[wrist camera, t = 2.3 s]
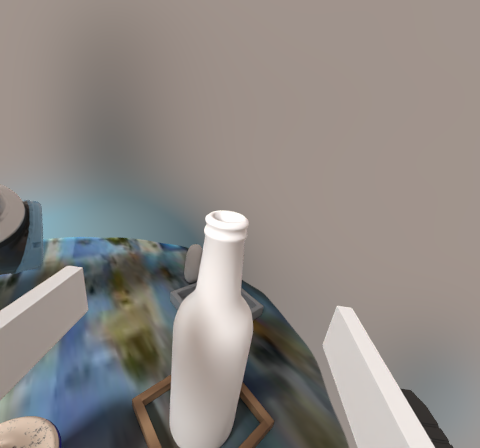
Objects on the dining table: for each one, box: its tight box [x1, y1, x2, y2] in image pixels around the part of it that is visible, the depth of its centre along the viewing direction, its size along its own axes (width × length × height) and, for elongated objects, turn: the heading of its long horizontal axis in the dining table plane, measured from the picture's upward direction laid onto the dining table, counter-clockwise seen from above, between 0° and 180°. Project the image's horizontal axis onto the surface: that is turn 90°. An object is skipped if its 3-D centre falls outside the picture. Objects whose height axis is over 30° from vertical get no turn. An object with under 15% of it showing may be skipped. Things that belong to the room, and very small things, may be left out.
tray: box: [170, 283, 264, 320], centre depth 50 cm, size 15×15×2 cm
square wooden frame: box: [132, 375, 274, 448], centre depth 31 cm, size 14×14×2 cm
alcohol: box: [170, 210, 253, 448], centre depth 26 cm, size 9×9×30 cm
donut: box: [184, 244, 203, 283], centre depth 58 cm, size 10×4×10 cm, turn 0°
